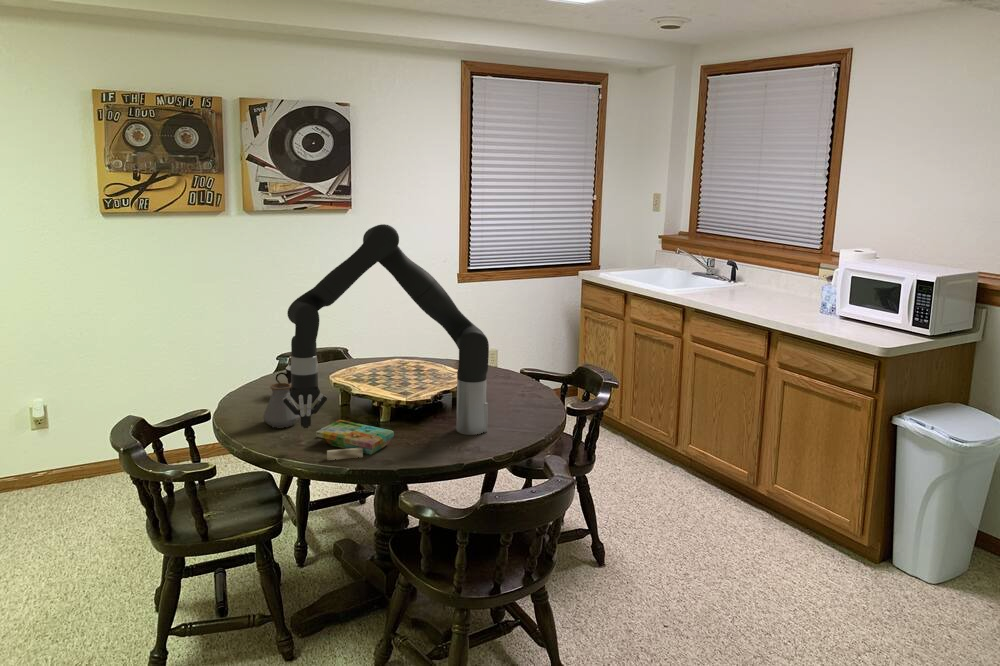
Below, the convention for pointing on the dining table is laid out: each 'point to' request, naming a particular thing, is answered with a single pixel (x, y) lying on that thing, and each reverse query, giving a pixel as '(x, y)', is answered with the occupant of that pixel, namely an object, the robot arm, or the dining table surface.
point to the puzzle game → (355, 436)
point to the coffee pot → (280, 407)
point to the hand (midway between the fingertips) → (305, 427)
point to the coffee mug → (287, 374)
